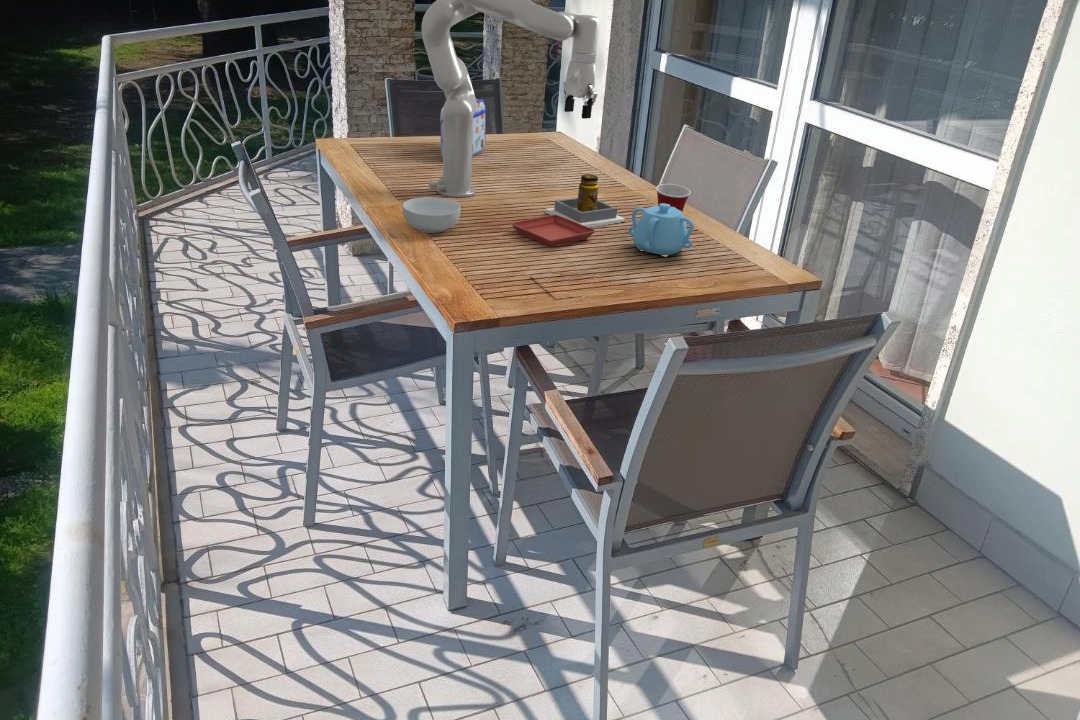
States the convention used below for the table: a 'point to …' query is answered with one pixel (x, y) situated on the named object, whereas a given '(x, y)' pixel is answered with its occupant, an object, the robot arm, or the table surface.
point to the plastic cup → (672, 195)
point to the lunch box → (478, 128)
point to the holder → (586, 213)
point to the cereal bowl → (431, 213)
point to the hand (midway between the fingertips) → (577, 114)
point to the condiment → (587, 193)
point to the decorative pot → (661, 230)
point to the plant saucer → (553, 230)
